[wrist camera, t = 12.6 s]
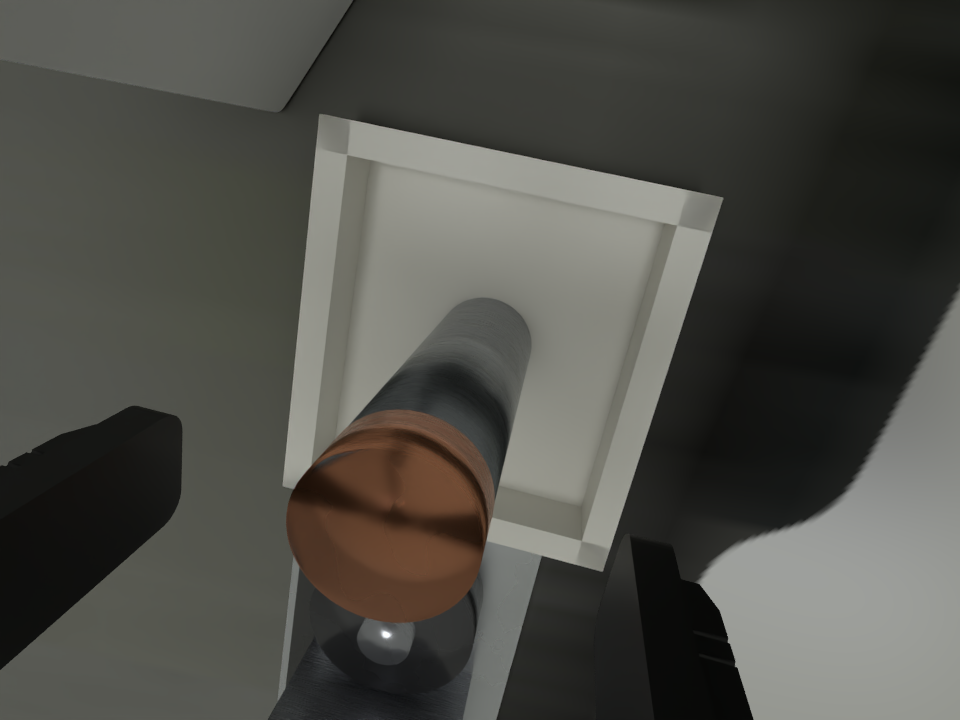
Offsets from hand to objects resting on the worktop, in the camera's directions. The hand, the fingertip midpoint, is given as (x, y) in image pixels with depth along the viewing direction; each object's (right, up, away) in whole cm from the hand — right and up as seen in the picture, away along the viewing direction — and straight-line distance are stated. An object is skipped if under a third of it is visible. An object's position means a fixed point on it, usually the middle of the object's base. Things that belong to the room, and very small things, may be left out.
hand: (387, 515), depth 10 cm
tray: (+2, +4, +12) cm, 12 cm away
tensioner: (-2, -10, +17) cm, 19 cm away
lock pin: (+2, +3, +11) cm, 12 cm away
